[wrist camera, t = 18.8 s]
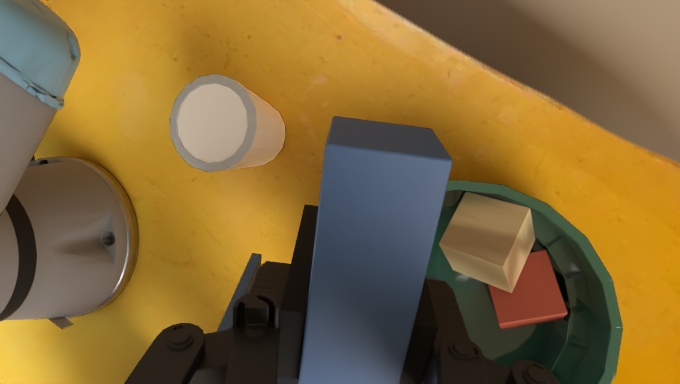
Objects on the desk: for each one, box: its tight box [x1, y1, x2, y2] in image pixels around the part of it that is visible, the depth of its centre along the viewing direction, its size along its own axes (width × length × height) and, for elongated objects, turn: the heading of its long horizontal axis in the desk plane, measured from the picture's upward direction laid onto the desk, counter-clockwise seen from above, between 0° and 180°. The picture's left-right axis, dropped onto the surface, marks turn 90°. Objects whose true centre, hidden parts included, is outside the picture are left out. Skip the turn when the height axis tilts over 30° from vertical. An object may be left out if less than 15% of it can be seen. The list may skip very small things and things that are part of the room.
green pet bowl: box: [426, 180, 623, 384], centre depth 29 cm, size 17×17×7 cm
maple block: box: [439, 191, 535, 293], centre depth 26 cm, size 4×4×4 cm
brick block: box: [488, 250, 568, 330], centre depth 28 cm, size 4×4×4 cm
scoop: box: [217, 116, 453, 384], centre depth 19 cm, size 13×12×15 cm
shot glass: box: [170, 74, 286, 172], centre depth 33 cm, size 7×7×7 cm
